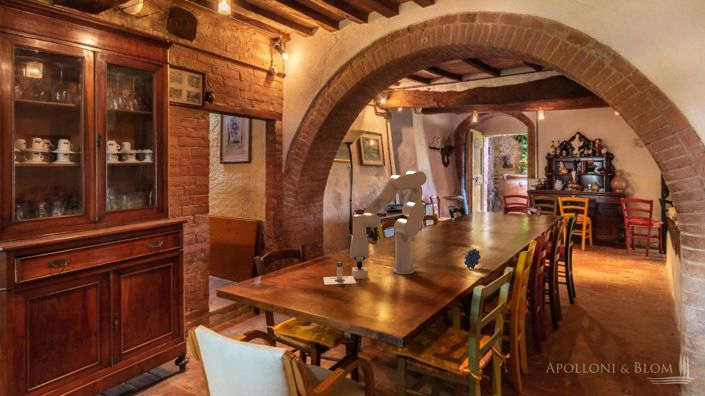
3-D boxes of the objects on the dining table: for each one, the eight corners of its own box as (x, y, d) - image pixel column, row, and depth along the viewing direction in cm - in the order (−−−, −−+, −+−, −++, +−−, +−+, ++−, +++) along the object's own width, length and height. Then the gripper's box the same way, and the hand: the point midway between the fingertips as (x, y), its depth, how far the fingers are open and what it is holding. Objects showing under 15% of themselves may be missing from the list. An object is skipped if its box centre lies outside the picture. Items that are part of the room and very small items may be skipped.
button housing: (365, 274, 238) (365, 266, 238) (367, 278, 230) (367, 270, 230) (351, 275, 238) (351, 267, 237) (353, 278, 230) (353, 271, 229)
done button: (362, 272, 236) (362, 267, 236) (363, 274, 232) (363, 269, 232) (356, 273, 235) (356, 267, 235) (356, 274, 232) (356, 269, 232)
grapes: (475, 265, 257) (475, 246, 256) (482, 268, 251) (483, 248, 250) (460, 267, 253) (460, 248, 252) (467, 270, 246) (467, 250, 245)
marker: (342, 279, 227) (342, 261, 227) (343, 281, 224) (342, 262, 223) (336, 279, 227) (336, 261, 226) (337, 281, 224) (336, 263, 223)
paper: (353, 276, 235) (353, 275, 235) (356, 283, 221) (356, 282, 221) (323, 277, 233) (323, 276, 233) (324, 284, 219) (324, 284, 219)
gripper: (371, 235, 237) (371, 266, 238) (345, 235, 235) (345, 267, 236) (373, 237, 229) (373, 269, 231) (346, 238, 227) (347, 270, 229)
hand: (359, 268), depth 234 cm, fingers closed
